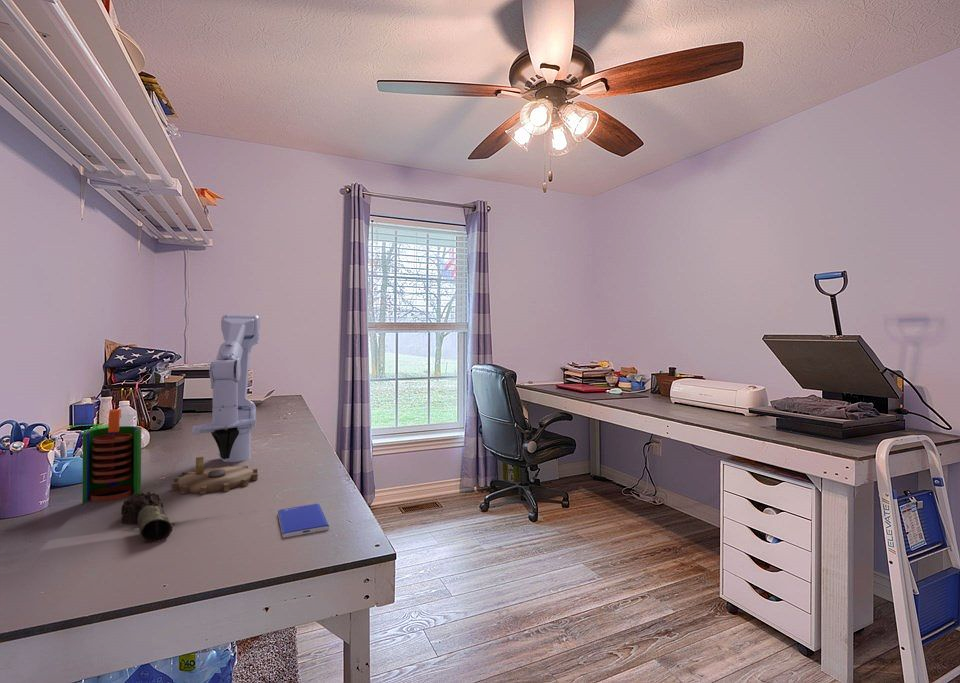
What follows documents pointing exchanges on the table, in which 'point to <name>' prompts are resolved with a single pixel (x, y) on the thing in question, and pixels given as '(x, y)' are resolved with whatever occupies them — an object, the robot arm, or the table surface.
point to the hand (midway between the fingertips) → (225, 458)
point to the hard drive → (302, 520)
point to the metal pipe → (147, 516)
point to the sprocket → (214, 478)
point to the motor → (111, 461)
